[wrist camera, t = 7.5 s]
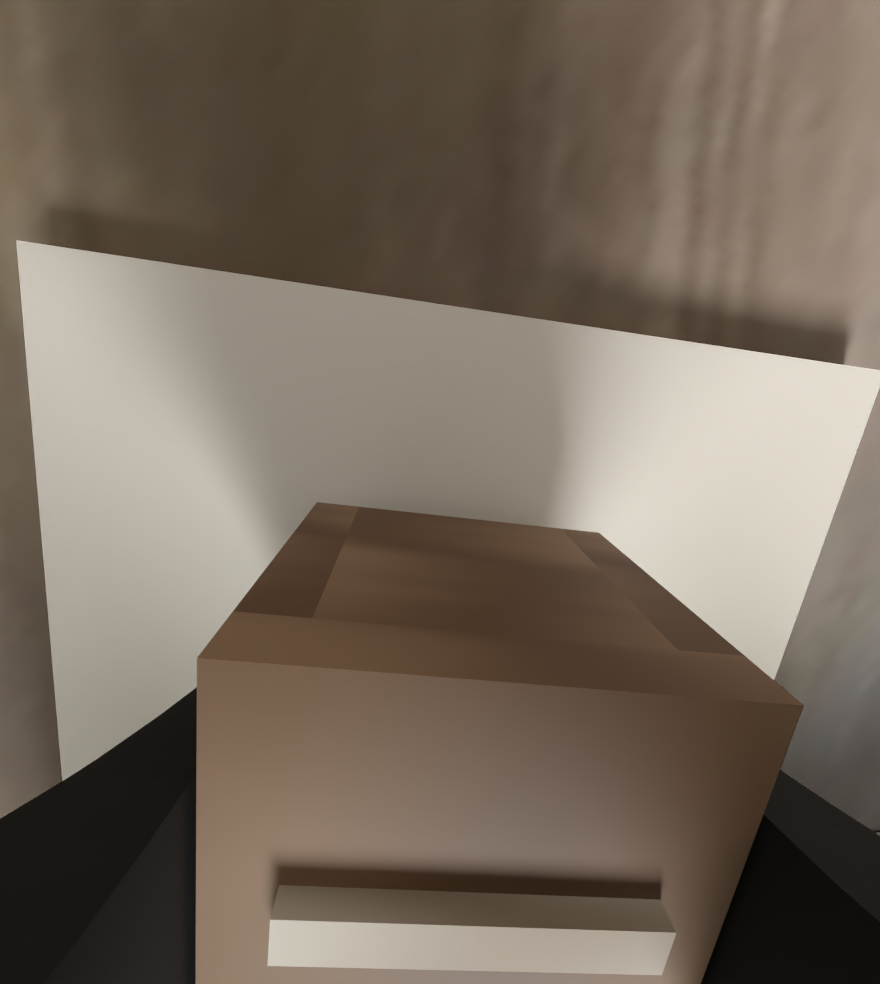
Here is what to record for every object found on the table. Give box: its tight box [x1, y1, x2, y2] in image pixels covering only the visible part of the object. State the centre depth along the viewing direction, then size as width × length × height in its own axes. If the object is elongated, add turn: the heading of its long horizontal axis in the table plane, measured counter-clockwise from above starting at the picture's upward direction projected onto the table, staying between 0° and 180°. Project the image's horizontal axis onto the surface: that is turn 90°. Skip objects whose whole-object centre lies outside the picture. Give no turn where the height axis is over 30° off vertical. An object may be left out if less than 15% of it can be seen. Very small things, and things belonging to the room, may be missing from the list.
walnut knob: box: [195, 502, 804, 984], centre depth 7 cm, size 6×6×5 cm
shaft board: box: [16, 240, 880, 781], centre depth 10 cm, size 18×14×4 cm
